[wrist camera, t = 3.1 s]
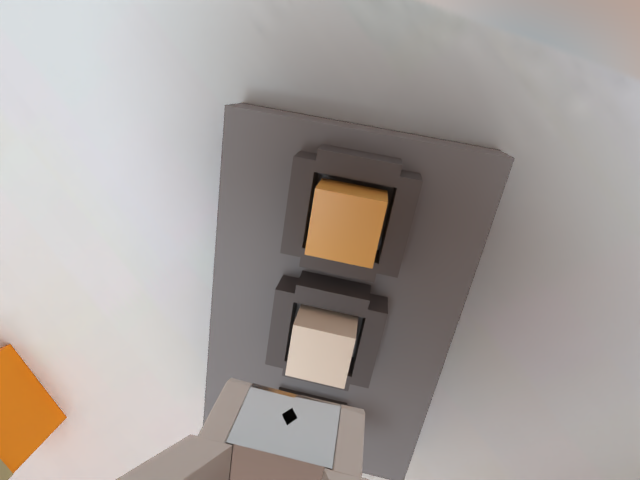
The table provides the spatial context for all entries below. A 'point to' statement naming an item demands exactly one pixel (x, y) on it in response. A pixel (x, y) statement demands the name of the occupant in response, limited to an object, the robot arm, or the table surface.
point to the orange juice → (22, 412)
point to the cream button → (321, 346)
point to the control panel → (341, 278)
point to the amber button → (346, 222)
